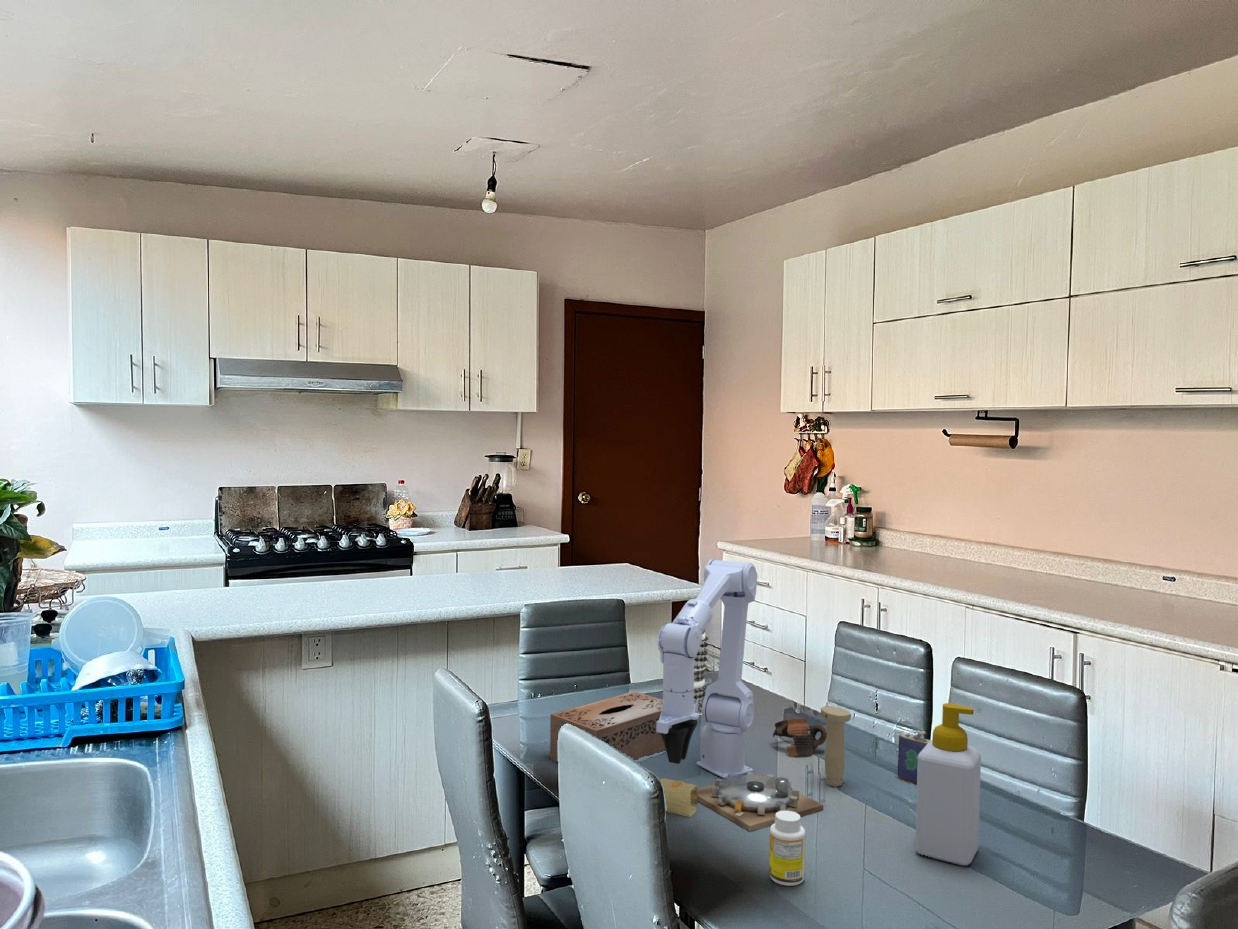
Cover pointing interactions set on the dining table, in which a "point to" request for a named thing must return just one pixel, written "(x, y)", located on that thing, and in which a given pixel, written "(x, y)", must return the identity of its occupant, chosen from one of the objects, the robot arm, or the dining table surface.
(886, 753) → the dining table surface
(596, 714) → the tissue box cover
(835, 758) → the handle
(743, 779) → the sprocket
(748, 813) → the sprocket base
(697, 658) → the decorative candle
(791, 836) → the supplement bottle
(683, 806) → the yellow block
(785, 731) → the pottery mug
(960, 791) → the soap bottle
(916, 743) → the flask
